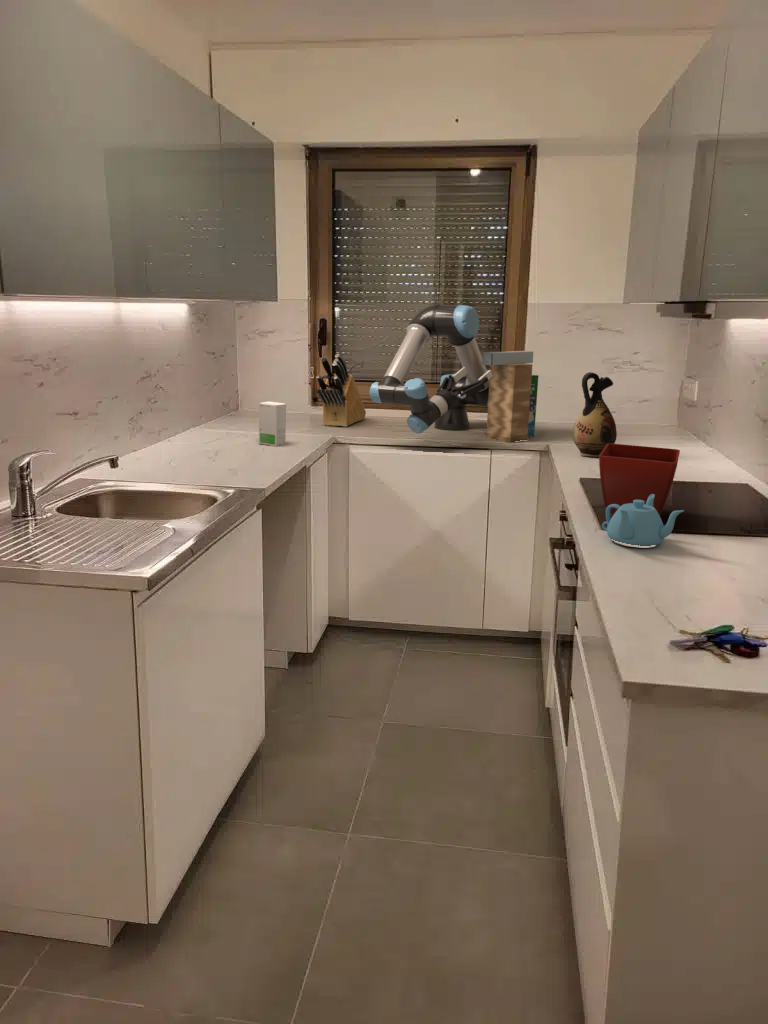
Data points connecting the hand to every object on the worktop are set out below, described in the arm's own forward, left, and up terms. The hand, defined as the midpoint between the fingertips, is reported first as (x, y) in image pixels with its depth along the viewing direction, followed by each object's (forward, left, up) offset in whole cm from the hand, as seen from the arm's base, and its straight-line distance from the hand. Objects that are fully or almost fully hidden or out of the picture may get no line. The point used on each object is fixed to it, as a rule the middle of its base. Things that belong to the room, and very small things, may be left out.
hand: (478, 371), depth 304 cm
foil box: (0, +16, +2) cm, 17 cm away
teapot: (+114, -60, -28) cm, 132 cm away
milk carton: (-5, +33, -28) cm, 44 cm away
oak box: (0, +18, -28) cm, 33 cm away
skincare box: (-41, -66, -28) cm, 82 cm away
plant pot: (+98, -38, -28) cm, 109 cm away
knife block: (-66, -16, -28) cm, 74 cm away
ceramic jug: (+40, +19, -28) cm, 53 cm away
